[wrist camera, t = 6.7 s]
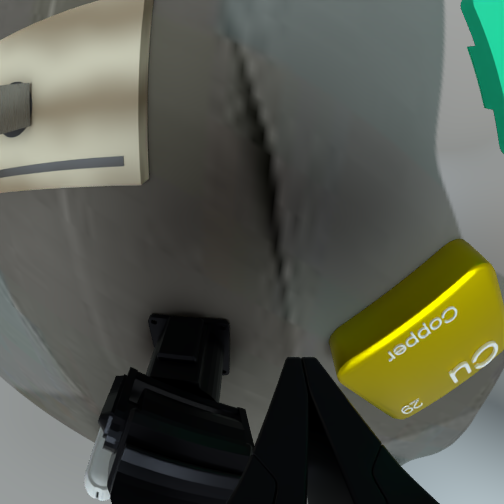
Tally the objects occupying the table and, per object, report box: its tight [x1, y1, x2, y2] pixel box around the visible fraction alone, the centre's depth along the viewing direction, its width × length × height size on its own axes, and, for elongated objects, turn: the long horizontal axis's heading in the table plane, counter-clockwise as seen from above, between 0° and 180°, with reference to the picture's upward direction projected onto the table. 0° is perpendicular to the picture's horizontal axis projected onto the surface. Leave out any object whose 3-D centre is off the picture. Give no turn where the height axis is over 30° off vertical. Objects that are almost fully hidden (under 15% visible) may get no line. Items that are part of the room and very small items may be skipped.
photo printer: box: [84, 427, 112, 501], centre depth 28 cm, size 10×4×12 cm, turn 154°
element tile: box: [329, 239, 504, 419], centre depth 22 cm, size 15×15×5 cm
